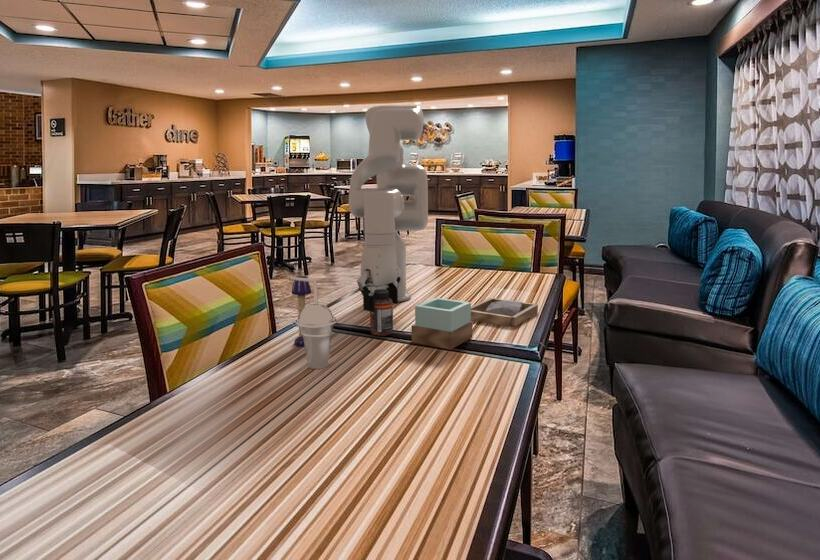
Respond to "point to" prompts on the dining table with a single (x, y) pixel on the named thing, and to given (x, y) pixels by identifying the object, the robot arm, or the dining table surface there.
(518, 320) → the frame
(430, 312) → the tower top
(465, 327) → the tower base
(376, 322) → the supplement bottle
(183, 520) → the dining table surface
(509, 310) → the stone block
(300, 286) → the toy lamp
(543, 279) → the dining table surface
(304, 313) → the cup with straw
